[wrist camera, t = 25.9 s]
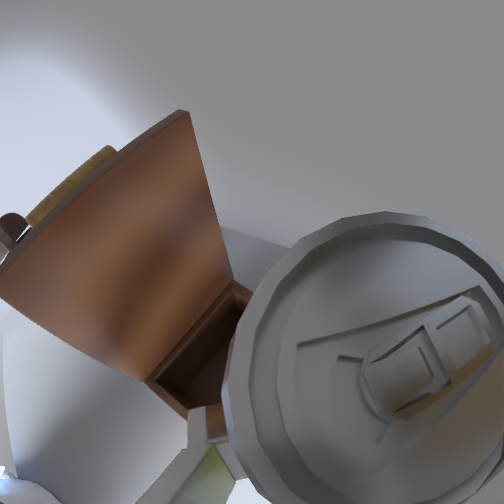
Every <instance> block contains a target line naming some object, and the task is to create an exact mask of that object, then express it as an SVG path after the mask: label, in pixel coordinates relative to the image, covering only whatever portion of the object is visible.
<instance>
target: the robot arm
mask: <svg viewBox="0 0 504 504" xmlns="http://www.w3.org/2000/svg"><path fill="white" fill-rule="evenodd" d="M503 441H504V434H503V435H502V437H501V439H500V441H499V443H498V445H497V447H496V448H495V449H494V451H493V452H492V453H491V454H490V455H489V457H488V458H487V459H486V460H485V461H484V462H483V464H482V465H481V466H480V467H479V468H478V469H477V470H476V471H475V472H474V473H473V475H472V476H471V477H470V478H468V479H467V480H465V481H464V482H462V483H460V484H459V485H457V486H456V487H454V488H452V489H451V490H449V491H447V492H445V493H444V494H442V495H440V496H438V497H437V498H435V499H432V500H427V501H423V502H418V503H413V504H458V503H459V502H461V501H463V500H465V499H466V498H468V497H470V496H471V495H473V494H474V493H475V492H476V491H477V490H478V488H479V487H480V486H481V485H482V483H483V482H484V481H485V479H486V478H487V476H488V475H489V474H490V472H491V471H492V469H493V468H494V466H495V465H496V464H497V462H498V461H499V459H500V457H501V452H502V446H503ZM4 469H5V468H4V466H0V504H61V503H60V501H59V500H58V499H57V498H56V497H55V496H53V495H52V494H51V493H50V492H49V491H48V490H46V489H45V488H43V487H42V486H40V485H38V484H36V483H34V482H31V481H27V480H20V479H18V478H16V477H15V476H13V475H12V474H10V473H8V472H3V471H4ZM2 472H3V473H2ZM244 478H248V476H247V474H246V473H245V471H244V469H243V468H242V466H241V465H240V463H239V461H238V460H237V458H236V456H235V454H234V453H233V451H232V449H231V448H230V443H229V437H228V432H227V426H226V421H225V415H224V409H223V403H222V402H220V403H215V404H211V405H206V406H202V407H198V408H193V409H189V411H188V423H187V448H186V449H182V450H181V451H180V453H179V454H178V455H177V456H176V457H175V459H174V460H173V461H172V462H171V463H170V465H169V466H168V467H167V468H166V469H165V470H164V472H163V473H162V474H161V475H160V476H159V477H158V479H157V480H156V481H155V482H154V483H153V484H152V485H151V487H150V488H149V489H148V490H147V491H146V492H145V493H144V494H143V496H142V497H141V498H140V499H139V500H138V501H137V502H136V503H135V504H226V502H227V500H228V497H229V495H230V493H231V491H232V489H233V487H234V485H235V483H236V482H235V481H236V480H241V479H244ZM463 504H504V469H503V470H502V471H501V472H500V473H498V474H497V475H496V476H495V477H494V478H493V479H492V480H491V481H490V482H489V483H487V484H486V485H485V486H484V487H483V488H482V489H480V490H479V491H478V492H477V493H476V494H474V495H473V496H472V497H471V498H469V499H468V500H467V501H466V502H464V503H463Z"/></svg>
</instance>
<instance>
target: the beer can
mask: <svg viewBox="0 0 504 504" xmlns="http://www.w3.org/2000/svg"><path fill="white" fill-rule="evenodd" d="M221 397H222V403H223V409H224V415H225V421H226V426H227V432H228V437H229V443H230V448H231V449H232V451H233V453H234V454H235V456H236V458H237V460H238V461H239V463H240V465H241V466H242V468H243V469H244V471H245V473H246V474H247V476H248V478H249V479H250V481H251V482H252V484H253V485H254V487H255V489H256V490H257V492H258V493H259V494H260V495H262V496H263V497H264V498H266V499H267V500H268V501H269V502H271V503H272V504H413V503H418V502H423V501H427V500H432V499H435V498H437V497H438V496H440V495H442V494H444V493H445V492H447V491H449V490H451V489H452V488H454V487H456V486H457V485H459V484H460V483H462V482H464V481H465V480H467V479H468V478H470V477H471V476H472V475H473V473H474V472H475V471H476V470H477V469H478V468H479V467H480V466H481V465H482V464H483V462H484V461H485V460H486V459H487V458H488V457H489V455H490V454H491V453H492V452H493V451H494V449H495V448H496V447H497V445H498V443H499V441H500V439H501V437H502V435H503V434H504V270H503V269H502V268H501V266H500V265H499V264H498V262H497V261H496V260H495V259H494V257H492V256H491V255H490V254H489V253H488V252H486V251H485V250H484V249H483V248H481V247H480V246H479V245H478V244H477V243H475V242H474V241H473V240H471V239H470V238H469V237H467V236H466V235H465V234H464V233H462V232H460V231H458V230H455V229H453V228H451V227H449V226H446V225H444V224H442V223H439V222H437V221H434V220H432V219H430V218H427V217H424V216H416V215H409V214H401V213H393V212H386V211H384V212H378V213H371V214H365V215H359V216H353V217H347V218H341V219H339V220H337V221H335V222H334V223H331V224H330V225H327V226H325V227H323V228H321V229H319V230H317V231H315V232H313V233H311V234H309V235H307V236H305V237H303V238H301V239H300V240H299V241H298V242H297V243H296V244H295V245H294V246H293V247H292V248H291V249H290V250H288V251H287V252H286V253H285V254H284V255H283V256H282V257H281V258H280V259H279V260H278V261H277V262H276V263H275V264H274V265H273V266H272V267H271V268H270V269H269V270H268V271H267V272H266V273H265V274H264V275H263V277H262V279H261V281H260V283H259V284H258V286H257V288H256V290H255V292H254V294H253V296H252V298H251V300H250V302H249V303H248V305H247V307H246V309H245V311H244V313H243V315H242V317H241V318H240V320H239V322H238V324H237V329H236V332H235V334H234V335H233V337H232V339H231V341H230V345H229V350H228V356H227V362H226V368H225V374H224V380H223V385H222V391H221ZM503 469H504V441H503V446H502V452H501V457H500V459H499V461H498V462H497V464H496V465H495V466H494V468H493V469H492V471H491V472H490V474H489V475H488V476H487V478H486V479H485V481H484V482H483V483H482V485H481V486H480V487H479V488H478V490H477V491H476V492H475V493H474V494H476V493H477V492H478V491H479V490H480V489H482V488H483V487H484V486H485V485H486V484H487V483H489V482H490V481H491V480H492V479H493V478H494V477H495V476H496V475H497V474H498V473H500V472H501V471H502V470H503ZM474 494H473V495H474ZM473 495H471V496H470V497H468V498H466V499H465V500H463V501H461V502H459V503H458V504H463V503H464V502H466V501H467V500H468V499H469V498H471V497H472V496H473Z"/></svg>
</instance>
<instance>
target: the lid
mask: <svg viewBox="0 0 504 504" xmlns="http://www.w3.org/2000/svg"><path fill="white" fill-rule="evenodd" d="M26 221H27V222H28V224H29V225H30V226H31V228H32V229H31V231H30V232H29V233H28V234H27V235H26V236H25V237H24V238H23V239H22V240H21V241H20V243H19V244H18V245H17V246H16V247H15V248H14V249H13V250H12V252H11V253H10V254H9V255H8V256H7V257H6V259H5V260H4V261H3V262H2V264H1V265H0V298H1V299H3V300H4V301H5V302H6V303H8V304H9V305H10V306H12V307H13V308H14V309H16V310H17V311H19V312H20V313H21V314H23V315H24V316H26V317H27V318H29V319H30V320H31V321H33V322H34V323H36V324H37V325H39V326H40V327H42V328H43V329H45V330H47V331H48V332H50V333H51V334H53V335H54V336H56V337H58V338H59V339H61V340H63V341H64V342H66V343H68V344H69V345H71V346H73V347H74V348H76V349H78V350H80V351H81V352H83V353H85V354H87V355H89V356H90V357H92V358H94V359H96V360H98V361H100V362H102V363H103V364H105V365H107V366H109V367H111V368H113V369H115V370H117V371H119V372H121V373H123V374H125V375H128V376H130V377H132V378H134V379H136V380H138V381H140V382H144V381H145V380H146V378H147V377H148V376H149V375H150V374H151V373H152V372H153V370H154V369H155V368H156V367H157V366H158V365H159V364H160V362H161V361H162V360H163V359H164V358H165V357H166V356H167V354H168V353H169V352H170V351H171V350H172V349H173V348H174V346H175V345H176V344H177V343H178V342H179V341H180V340H181V338H182V337H183V336H184V335H185V334H186V333H187V331H188V330H189V329H190V328H191V327H192V326H193V325H194V323H195V322H196V321H197V320H198V319H199V318H200V317H201V315H202V314H203V313H204V312H205V311H206V310H207V309H208V307H209V306H210V305H211V304H212V303H213V302H214V300H215V299H216V298H217V297H218V296H219V295H220V294H221V292H222V291H223V290H224V289H225V288H226V287H227V286H228V284H229V283H230V282H231V281H232V280H233V279H234V276H233V272H232V269H231V265H230V262H229V258H228V255H227V251H226V248H225V244H224V241H223V237H222V234H221V230H220V227H219V223H218V219H217V216H216V212H215V209H214V205H213V201H212V198H211V194H210V190H209V186H208V183H207V179H206V175H205V172H204V168H203V164H202V160H201V156H200V153H199V149H198V145H197V141H196V137H195V133H194V129H193V126H192V121H191V117H190V114H189V112H188V111H184V110H180V109H179V110H177V111H175V112H174V113H172V114H170V115H169V116H167V117H166V118H164V119H163V120H161V121H160V122H158V123H157V124H155V125H154V126H152V127H151V128H150V129H148V130H147V131H146V132H144V133H143V134H141V135H140V136H139V137H137V138H135V139H134V140H133V141H131V142H130V143H129V144H127V145H126V146H125V147H123V148H122V149H121V150H120V151H118V152H117V151H116V150H115V149H114V148H113V147H111V146H109V145H106V146H105V147H104V148H102V149H101V150H100V151H99V152H97V153H96V154H95V155H93V156H92V157H91V158H90V159H88V160H87V161H86V162H85V163H84V164H82V165H81V166H80V167H79V168H78V169H76V170H75V171H74V172H73V173H72V174H71V175H69V176H68V177H67V178H66V179H65V180H64V181H63V182H62V183H60V185H58V186H57V187H56V188H55V189H54V190H53V191H52V192H51V193H50V194H49V195H48V196H46V197H45V198H44V199H43V200H42V201H41V202H40V203H39V204H38V205H37V206H36V207H35V208H34V209H33V210H32V211H31V212H30V213H29V214H28V215H27V216H26Z"/></svg>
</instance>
